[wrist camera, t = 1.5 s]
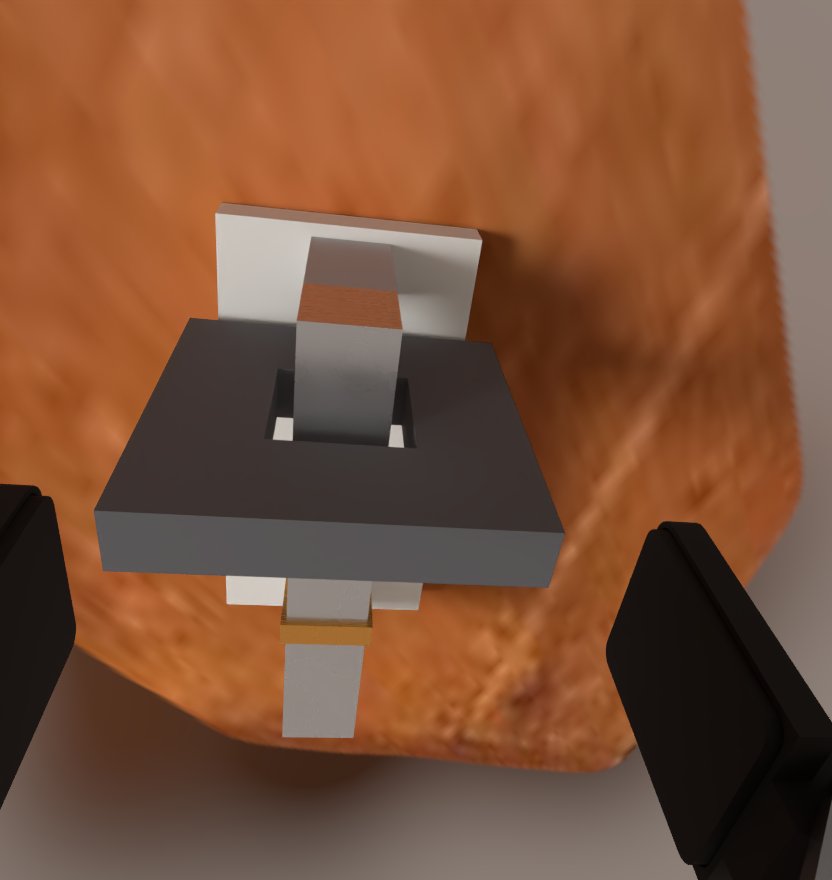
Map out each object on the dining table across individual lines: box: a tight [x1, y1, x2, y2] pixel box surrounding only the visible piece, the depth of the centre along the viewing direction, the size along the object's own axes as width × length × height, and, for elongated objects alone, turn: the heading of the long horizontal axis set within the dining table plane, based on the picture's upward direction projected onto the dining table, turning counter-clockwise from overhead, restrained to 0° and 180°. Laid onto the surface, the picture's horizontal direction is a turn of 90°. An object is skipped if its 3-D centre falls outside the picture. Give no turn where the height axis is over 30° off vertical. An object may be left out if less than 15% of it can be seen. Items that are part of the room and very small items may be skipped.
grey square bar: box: [280, 283, 403, 738], centre depth 26 cm, size 19×3×3 cm, turn 173°
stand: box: [215, 203, 482, 610], centre depth 30 cm, size 20×10×6 cm, turn 173°
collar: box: [94, 318, 565, 588], centre depth 24 cm, size 2×12×12 cm, turn 83°
